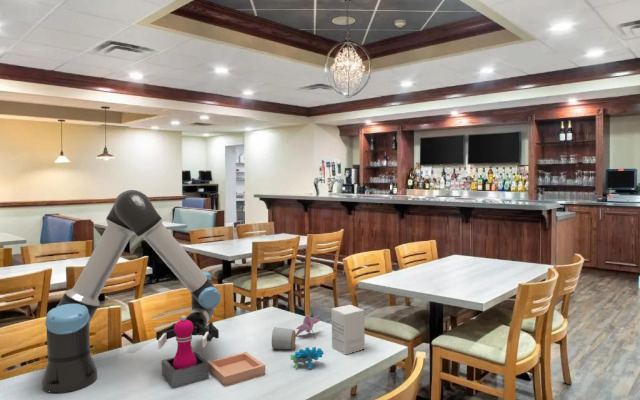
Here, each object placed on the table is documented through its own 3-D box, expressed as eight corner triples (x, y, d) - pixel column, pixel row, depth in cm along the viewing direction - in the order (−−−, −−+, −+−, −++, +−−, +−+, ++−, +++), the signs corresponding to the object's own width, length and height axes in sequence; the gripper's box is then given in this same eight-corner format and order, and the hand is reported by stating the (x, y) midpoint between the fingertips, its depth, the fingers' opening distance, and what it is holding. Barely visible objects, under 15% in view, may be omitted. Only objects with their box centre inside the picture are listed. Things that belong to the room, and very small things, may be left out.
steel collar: (172, 388, 137) (172, 372, 137) (162, 375, 146) (161, 359, 146) (208, 378, 144) (208, 362, 143) (196, 366, 153) (195, 351, 153)
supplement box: (350, 342, 173) (350, 303, 172) (365, 349, 165) (365, 309, 165) (331, 347, 168) (330, 307, 167) (345, 355, 161) (344, 314, 160)
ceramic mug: (293, 352, 164) (293, 331, 164) (271, 351, 165) (271, 331, 164) (297, 342, 175) (297, 322, 174) (276, 341, 175) (276, 322, 175)
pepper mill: (201, 375, 146) (200, 314, 145) (184, 383, 140) (182, 320, 139) (186, 370, 150) (184, 310, 149) (168, 378, 144) (166, 316, 143)
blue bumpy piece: (324, 355, 157) (321, 343, 149) (326, 372, 153) (323, 360, 145) (292, 360, 157) (288, 348, 149) (294, 377, 153) (289, 366, 145)
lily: (325, 334, 185) (316, 312, 188) (330, 332, 174) (320, 308, 177) (298, 346, 182) (289, 324, 184) (302, 345, 171) (292, 321, 174)
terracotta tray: (224, 386, 138) (224, 376, 138) (207, 370, 149) (207, 361, 149) (265, 374, 146) (265, 365, 146) (246, 360, 157) (246, 351, 157)
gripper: (231, 331, 163) (222, 354, 142) (161, 333, 162) (141, 356, 141) (231, 310, 163) (221, 330, 142) (160, 312, 161) (140, 333, 140)
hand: (181, 343), depth 141 cm, fingers open, 13 cm apart
